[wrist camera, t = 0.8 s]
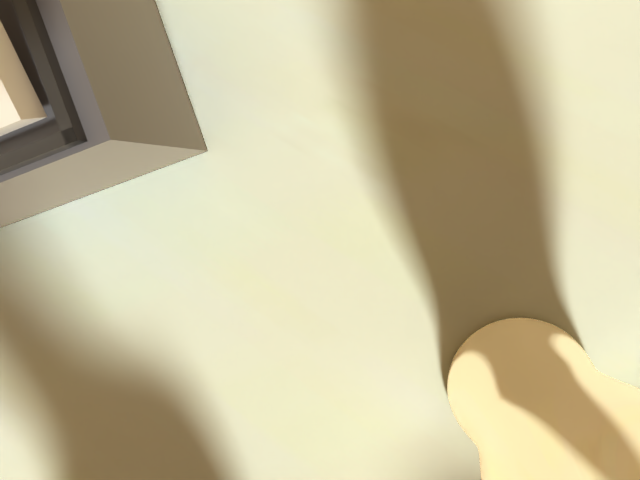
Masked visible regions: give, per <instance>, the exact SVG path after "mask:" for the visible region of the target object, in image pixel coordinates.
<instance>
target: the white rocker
mask: <svg viewBox="0 0 640 480" xmlns="http://www.w3.org/2000/svg"><path fill="white" fill-rule="evenodd" d="M46 117H47V115H46V113H45V111H44V109H43V107H42V105H41V103H40V101H39V99H38V96H37V94H36V92H35V90H34V88H33V86H32V84H31V82H30V80H29V78H28V76H27V74H26V72H25V70H24V68H23V66H22V64H21V62H20V60H19V57H18V55H17V53H16V51H15V49H14V47H13V45H12V43H11V41H10V39H9V37H8V35H7V33H6V31H5V29H4V27H3V25H2V23H1V21H0V136H2V135H5V134H7V133H9V132H12V131H14V130H17V129H19V128H22V127H24V126H27V125H29V124H32V123H34V122H36V121H39V120H41V119H44V118H46Z"/></svg>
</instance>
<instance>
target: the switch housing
mask: <svg viewBox="0 0 640 480" xmlns="http://www.w3.org/2000/svg"><path fill="white" fill-rule="evenodd" d="M0 21H1V23H2V25H3V27H4V29H5V31H6V33H7V35H8V37H9V39H10V41H11V43H12V45H13V47H14V49H15V51H16V53H17V55H18V57H19V60H20V62H21V64H22V66H23V68H24V70H25V72H26V74H27V76H28V78H29V80H30V82H31V84H32V86H33V88H34V90H35V92H36V94H37V96H38V99H39V101H40V103H41V105H42V107H43V109H44V111H45V113H46V115H47V117H46V118H44V119H41V120H39V121H36V122H34V123H32V124H29V125H27V126H24V127H22V128H19V129H17V130H14V131H12V132H9V133H7V134H5V135H2V136H0V228H1V227H4V226H7V225H9V224H12V223H15V222H18V221H20V220H23V219H26V218H28V217H31V216H34V215H36V214H39V213H42V212H45V211H47V210H50V209H53V208H55V207H58V206H61V205H63V204H66V203H69V202H72V201H74V200H77V199H80V198H82V197H85V196H88V195H90V194H93V193H96V192H98V191H101V190H104V189H107V188H109V187H112V186H115V185H117V184H120V183H123V182H125V181H128V180H131V179H134V178H136V177H139V176H142V175H144V174H147V173H150V172H152V171H155V170H158V169H161V168H163V167H166V166H169V165H171V164H174V163H177V162H179V161H182V160H185V159H187V158H190V157H193V156H196V155H198V154H201V153H204V152H206V151H207V148H206V145H205V142H204V139H203V136H202V134H201V131H200V128H199V125H198V122H197V119H196V117H195V114H194V111H193V108H192V105H191V102H190V100H189V97H188V94H187V91H186V88H185V85H184V83H183V80H182V77H181V74H180V71H179V68H178V66H177V63H176V60H175V57H174V54H173V51H172V48H171V46H170V43H169V40H168V37H167V34H166V31H165V29H164V26H163V23H162V20H161V17H160V14H159V12H158V9H157V6H156V3H155V0H0Z"/></svg>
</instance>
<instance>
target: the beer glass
mask: <svg viewBox="0 0 640 480" xmlns="http://www.w3.org/2000/svg"><path fill="white" fill-rule="evenodd" d="M447 393H448V400H449V404H450V407H451V410H452V412H453V414H454V416H455V418H456V420H457V422H458V424H459V425H460V427H461V428H462V429H463V431H464V432H465V433H466V434H467V436H468V437H469V438H470V439H471V440H472V441H473V442H474V443H475V445H476V446H477V448H478V452H479V460H480V474H481V480H640V389H639V388H637V387H635V386H632V385H630V384H627V383H625V382H622V381H620V380H617V379H615V378H612V377H610V376H608V375H605V374H603V373H601V372H599V371H598V370H597V369H596V368H595V366H594V365H593V363H592V361H591V360H590V358H589V357H588V355H587V354H586V352H585V351H584V349H583V348H582V347H581V346H580V345H579V343H578V342H577V341H576V340H575V339H574V338H573V337H571V336H570V335H569V334H568V333H566V332H565V331H564V330H562V329H560V328H559V327H557V326H555V325H553V324H550V323H547V322H544V321H541V320H537V319H532V318H508V319H503V320H499V321H495V322H493V323H490V324H488V325H486V326H484V327H482V328H480V329H479V330H477V331H476V332H475V333H473V334H472V335H471V336H470V337H469V338H468V339H466V341H465V342H464V343H463V344H462V345H461V346H460V348H459V349H458V351H457V352H456V354H455V356H454V358H453V360H452V363H451V366H450V369H449V373H448V380H447Z"/></svg>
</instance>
